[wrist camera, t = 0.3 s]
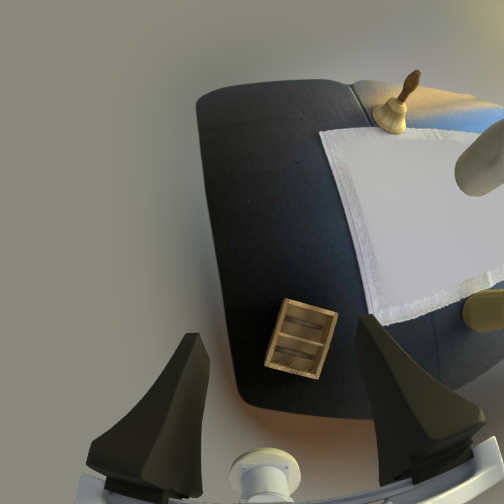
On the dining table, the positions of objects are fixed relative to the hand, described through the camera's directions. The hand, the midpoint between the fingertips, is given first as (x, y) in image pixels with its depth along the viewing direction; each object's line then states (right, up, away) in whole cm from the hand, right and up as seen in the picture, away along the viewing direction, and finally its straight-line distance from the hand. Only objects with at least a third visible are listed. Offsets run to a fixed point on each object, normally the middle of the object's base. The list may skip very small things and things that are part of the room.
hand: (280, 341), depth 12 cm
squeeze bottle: (+42, -8, +29) cm, 52 cm away
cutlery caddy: (+6, -9, +29) cm, 31 cm away
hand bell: (+29, +33, +39) cm, 58 cm away
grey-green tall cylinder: (+46, +19, +35) cm, 61 cm away
